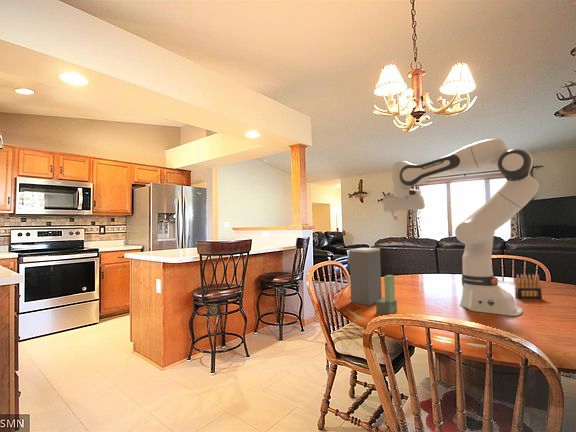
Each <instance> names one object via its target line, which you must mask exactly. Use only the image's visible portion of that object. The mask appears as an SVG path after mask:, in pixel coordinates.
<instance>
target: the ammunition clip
mask: <svg viewBox="0 0 576 432" xmlns="http://www.w3.org/2000/svg"><path fill="white" fill-rule="evenodd" d="M515 279H516V281H515V298H516V299H518V300H524V299H525V300H535V299H536V300H542V299H543V295H542V288H541V282H540V276H539V273H536V276H535V274H534V273H532V275H531V274H530V273H528V275H527V274H526V273H525V274H524V275H523V273H521V274H520V275H519V274H518V273H516V278H515Z"/></svg>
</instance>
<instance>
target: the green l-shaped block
mask: <svg viewBox="0 0 576 432" xmlns="http://www.w3.org/2000/svg"><path fill="white" fill-rule="evenodd" d="M383 279H384V281H383V282H384V283H383V284H384V297H383V298H382V299H380V300H378V301H376V303H375V305H376V306H375V311H376V312H375V313H376V314H380V315H385V314H392V315H394V314H395V313H397V312H398V303H397V299H396V295H395V294H396V292H395V289H396V288H395V275H393V274H388V275H387V274H386V275H384V276H383ZM385 316H386V315H385Z"/></svg>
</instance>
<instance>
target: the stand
mask: <svg viewBox="0 0 576 432" xmlns="http://www.w3.org/2000/svg"><path fill="white" fill-rule="evenodd" d="M348 250H349V274H350V275H349V279H350V280H349V281H350V302H351V303H353V304H359V305H363V306H368V307H369V306H372V305H374V304H375V305H376V301H378V300H380V299H383V298H382V296H383V294H382V271H381V270H382V268H381V267H382V266H381V265H382V264H381V248H377V247H376V248H375V247H374V248H373V247H359V248H358V247H357V248H350V249H348Z"/></svg>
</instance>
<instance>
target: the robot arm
mask: <svg viewBox="0 0 576 432" xmlns="http://www.w3.org/2000/svg"><path fill="white" fill-rule="evenodd" d="M534 162H535V161H534V157H533V156H532V155H531V153H530V152H528V151H526V150H525V149H520V148H513V149H508V147H507V145H506V143H505V142H504V141H503V139H501V138H499V137H497V138H488V139H484V140H480V141H476V142H474V143H471V144H468V145H465V146H463V147H462V148H459V149H456V150H455V151H454V152H453V151H452V152H450V153H449V154H447V155H445V156H442V157H440V158H436V159H434V160H431V161H427V162H424V163H421V164H413V163H411V162H408V161H406V160H403V161H401V160H400V161H397V162H395V163H394V164H392V165H391V170H390V171H391V172H390V173H391V183H392V193H391V194H385V195H384V196H383V197H382V202H383V211H384V212H386V213H388V212H389V213H390V215H392V218H393V220H394V221H396V220H398V216H397V215H396V214H395V213H396V212H398V211H399V212H400V211H402V212H403V211H413V212H414V214H412V215H411V218H412V219H413V220H415V219H416V218H417V214H418V210H423V209H424V208H425V200H424V197H423V195H422V192H421V189H420V190H419V189H415V188H412V186H416V185H423V184H424V183H426V182H427V181H428V180H429V178H430V176H434V175H437V174H441V173H444V172H467V171H471V170H476V169H480V168H483V167H486V166H489V165H496V166H497V168H498V170H499V172H500V173H501V174H502V176H503V177H504V178H505V179H506V182H505V184H504V185H502V186H501V188H500V189H498V191H496V192H495V193H494V194H493V195H492V196H491V197H490V199H488V201H486V203H484V204H483V205H482V206H481V207H479V208H478V209H476V211H474V212H472V214H470V215H469V216H468V217H467V218H466V219H464V221H462V222H461V223H459V224H457V226H456V228H455V231H454V235H455V237H456V240H458V241H459V242H460V243H462V244H464V245H465V246H464V250H463V254H462V259H461V260H462V261H461V262H462V274H461V284H462V285H461V286H462V294H461V295H462V296H461V300H460V304H459V305H460V306H461V307H463V308H466V309H468V310H469V311H472V312H478V313H487V314H493V315H502V316H510V317H514V316H515V317H517V316H520V315H521V314H522V313H523V308H521V307H520V306H517V305H516V301H515V298H514V297H513V295H512V294H511V293H510V292H508V291H506V290H505V289H503V288H502V287H501V286H499V284H498V283H499V281H498V279H499V278H498V277H496V276H494V275H493V272H492V271H493V269H492V266H493V265H492V255H493V254H492V253H493V246H494V235H495V231H497V230H498V229H499V228H500V227H501V226H503V225H504V224H506V223H508V222H509V221H510V220H511V219H512V218H513V217H514V216H516V214H518V212H519V211H521V210H522V209H524V207H525V206H527V204H528V203H529V202H530V201H532V199H533V198H534V196H535V195H536V194H537V192H538V191H539V189H540V184H539V182H538V181H537V180H536V179H535V178H534V177H532V176H531V175H530V173H531V171H532V170H533V167H534V164H535V163H534Z"/></svg>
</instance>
